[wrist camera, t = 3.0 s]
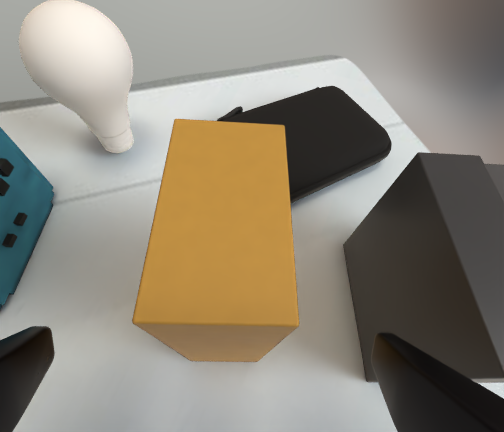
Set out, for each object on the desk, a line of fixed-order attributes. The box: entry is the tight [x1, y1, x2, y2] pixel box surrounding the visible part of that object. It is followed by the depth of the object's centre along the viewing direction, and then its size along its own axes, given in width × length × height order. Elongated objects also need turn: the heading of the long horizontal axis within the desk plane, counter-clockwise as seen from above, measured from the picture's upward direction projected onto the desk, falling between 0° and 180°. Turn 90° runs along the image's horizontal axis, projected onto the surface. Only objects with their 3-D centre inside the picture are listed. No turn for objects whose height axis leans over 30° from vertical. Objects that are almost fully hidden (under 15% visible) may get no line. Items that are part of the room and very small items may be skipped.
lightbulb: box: [19, 0, 134, 153], centre depth 20 cm, size 6×6×11 cm
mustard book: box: [132, 119, 299, 362], centre depth 14 cm, size 4×7×12 cm, turn 0°
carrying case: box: [217, 86, 391, 204], centre depth 25 cm, size 11×3×15 cm
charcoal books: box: [344, 152, 504, 383], centre depth 15 cm, size 7×9×10 cm
